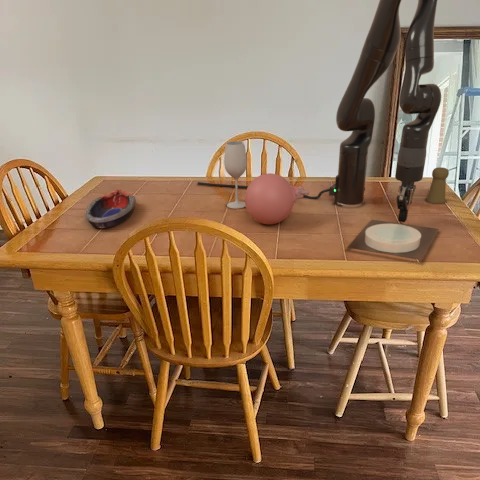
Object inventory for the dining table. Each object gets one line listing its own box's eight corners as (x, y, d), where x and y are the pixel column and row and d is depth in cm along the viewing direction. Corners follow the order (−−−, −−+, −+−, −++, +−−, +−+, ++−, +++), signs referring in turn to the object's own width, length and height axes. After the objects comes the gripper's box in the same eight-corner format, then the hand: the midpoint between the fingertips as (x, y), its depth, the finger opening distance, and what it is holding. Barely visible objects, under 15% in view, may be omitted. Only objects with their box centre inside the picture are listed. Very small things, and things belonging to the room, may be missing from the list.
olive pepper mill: (446, 203, 168) (452, 170, 162) (427, 203, 169) (432, 170, 164) (443, 197, 173) (449, 165, 167) (425, 197, 174) (430, 165, 169)
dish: (76, 232, 157) (72, 217, 154) (103, 201, 183) (100, 188, 180) (124, 232, 156) (122, 216, 153) (145, 200, 182) (143, 187, 180)
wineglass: (222, 207, 173) (219, 145, 162) (231, 200, 179) (228, 140, 168) (243, 209, 170) (241, 146, 159) (251, 202, 176) (249, 141, 165)
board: (346, 250, 138) (347, 247, 138) (371, 222, 156) (371, 219, 155) (421, 263, 130) (421, 260, 129) (438, 232, 147) (438, 228, 147)
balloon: (309, 231, 151) (312, 181, 143) (244, 232, 153) (242, 182, 145) (307, 214, 164) (309, 167, 156) (246, 214, 166) (245, 168, 158)
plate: (357, 247, 137) (358, 238, 136) (372, 229, 148) (373, 220, 147) (413, 256, 131) (414, 247, 130) (424, 236, 142) (426, 227, 141)
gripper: (403, 155, 147) (395, 212, 156) (391, 166, 137) (383, 226, 146) (429, 158, 143) (420, 215, 152) (419, 169, 134) (409, 230, 143)
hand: (402, 220), depth 149 cm, fingers closed
